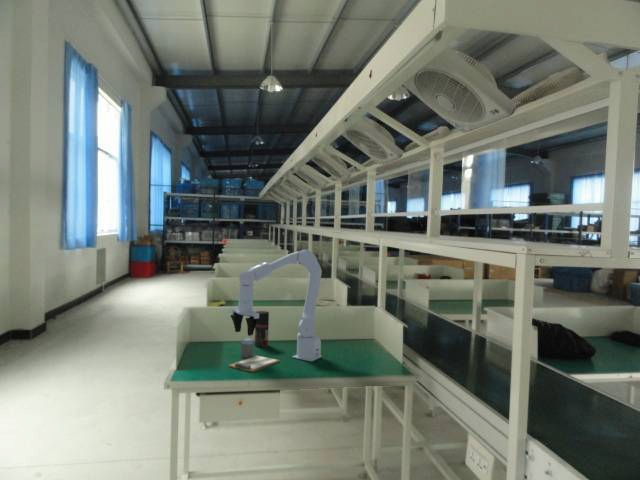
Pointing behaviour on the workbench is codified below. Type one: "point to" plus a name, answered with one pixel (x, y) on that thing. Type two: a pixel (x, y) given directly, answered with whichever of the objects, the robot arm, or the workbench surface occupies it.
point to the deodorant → (262, 329)
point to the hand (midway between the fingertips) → (244, 333)
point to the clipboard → (254, 363)
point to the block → (247, 348)
